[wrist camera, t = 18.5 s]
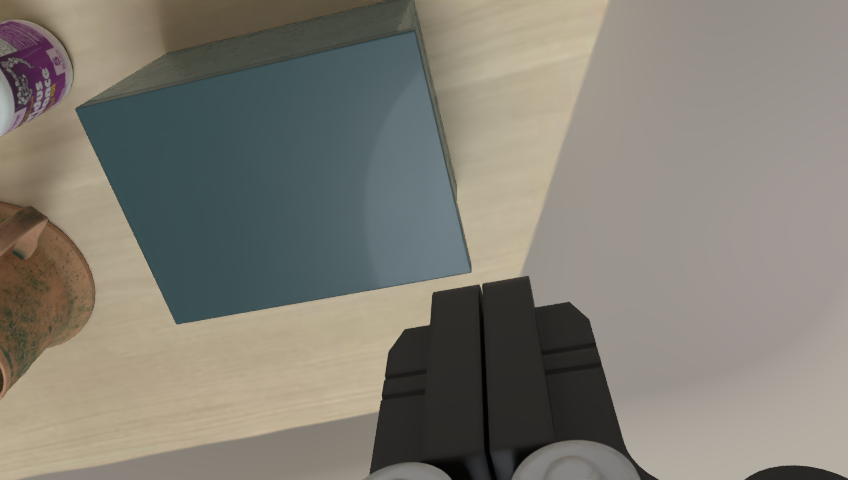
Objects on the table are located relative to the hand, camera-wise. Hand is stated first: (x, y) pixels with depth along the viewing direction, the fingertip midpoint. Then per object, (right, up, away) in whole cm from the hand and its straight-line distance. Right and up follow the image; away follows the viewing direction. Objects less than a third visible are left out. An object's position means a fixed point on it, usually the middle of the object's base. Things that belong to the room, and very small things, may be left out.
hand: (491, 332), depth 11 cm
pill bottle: (-24, +12, +30) cm, 41 cm away
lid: (-8, +4, +22) cm, 24 cm away
